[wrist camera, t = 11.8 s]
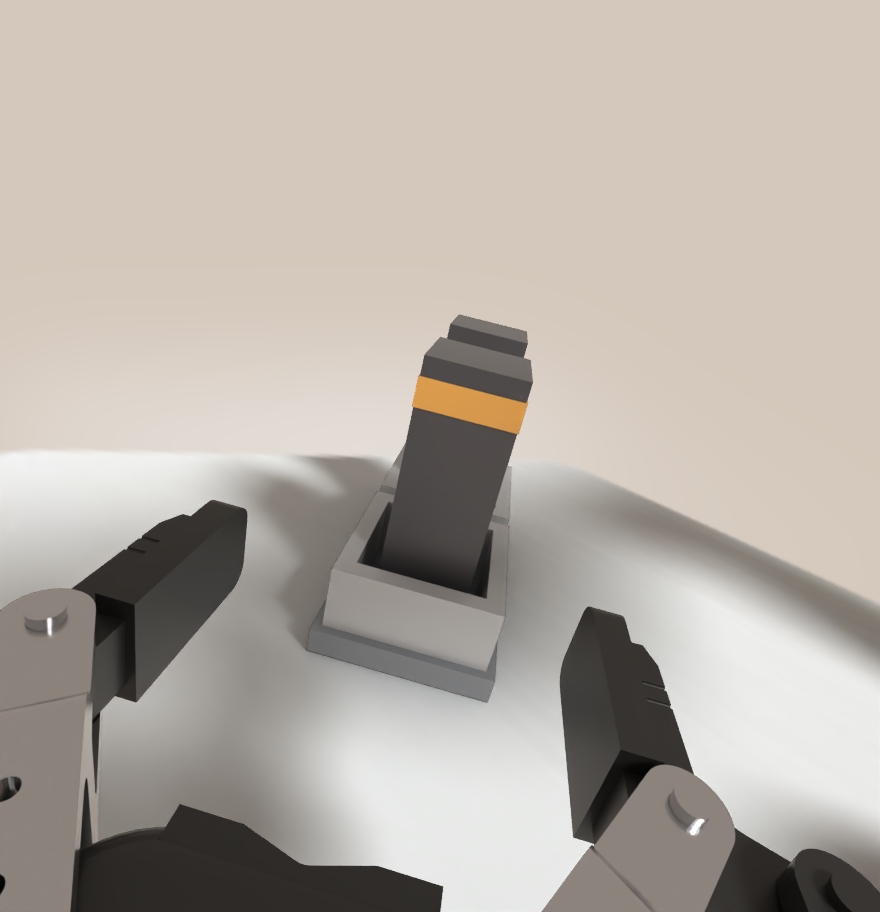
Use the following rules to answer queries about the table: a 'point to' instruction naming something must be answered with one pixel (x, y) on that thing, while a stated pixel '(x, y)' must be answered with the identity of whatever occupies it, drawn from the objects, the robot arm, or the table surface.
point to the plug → (454, 461)
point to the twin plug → (488, 335)
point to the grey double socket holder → (415, 607)
